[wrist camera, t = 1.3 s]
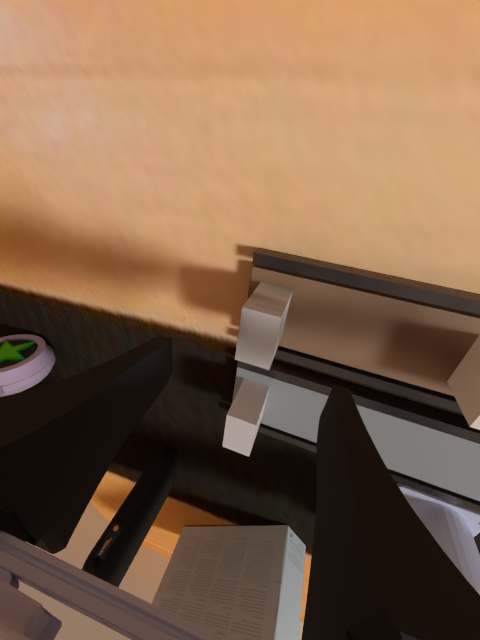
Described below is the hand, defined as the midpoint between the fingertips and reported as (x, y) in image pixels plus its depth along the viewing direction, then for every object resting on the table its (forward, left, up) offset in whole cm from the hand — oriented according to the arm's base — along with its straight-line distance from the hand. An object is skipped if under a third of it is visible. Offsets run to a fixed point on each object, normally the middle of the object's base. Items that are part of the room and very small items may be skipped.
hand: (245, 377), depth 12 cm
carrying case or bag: (-29, +11, -11) cm, 33 cm away
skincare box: (-41, -1, -11) cm, 43 cm away
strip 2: (-11, -9, -11) cm, 18 cm away
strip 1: (-1, -9, -11) cm, 14 cm away
